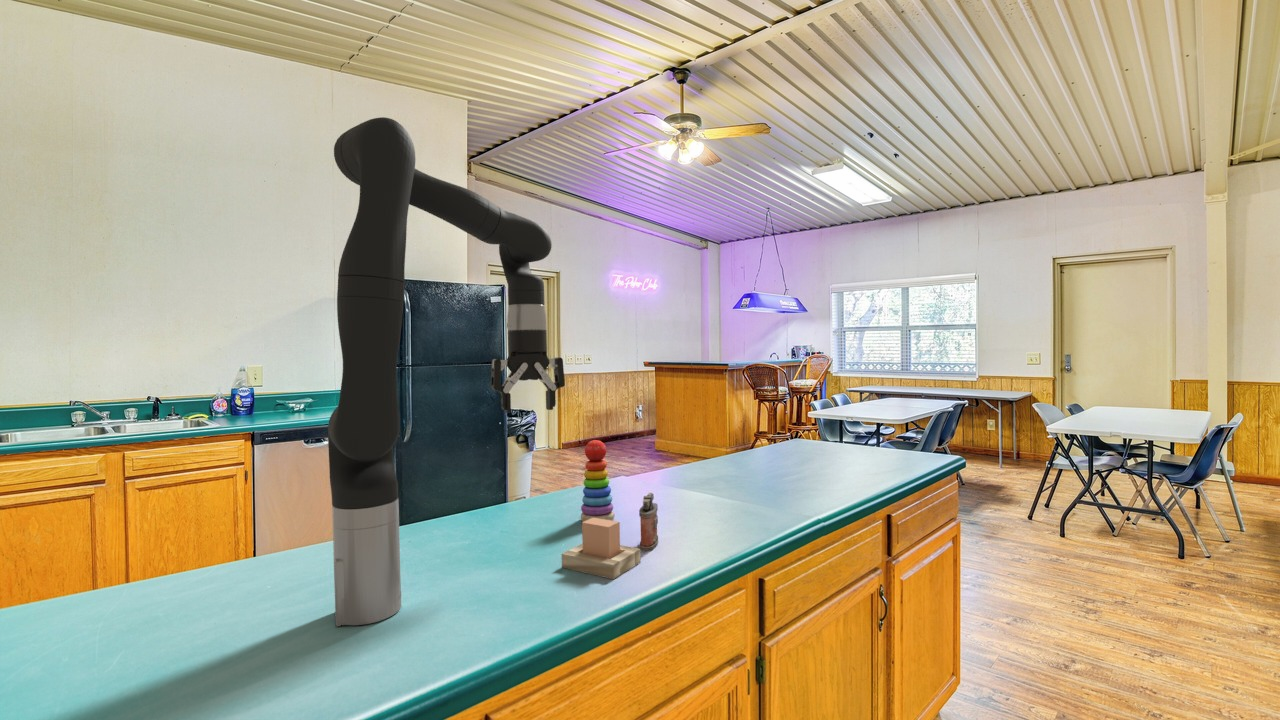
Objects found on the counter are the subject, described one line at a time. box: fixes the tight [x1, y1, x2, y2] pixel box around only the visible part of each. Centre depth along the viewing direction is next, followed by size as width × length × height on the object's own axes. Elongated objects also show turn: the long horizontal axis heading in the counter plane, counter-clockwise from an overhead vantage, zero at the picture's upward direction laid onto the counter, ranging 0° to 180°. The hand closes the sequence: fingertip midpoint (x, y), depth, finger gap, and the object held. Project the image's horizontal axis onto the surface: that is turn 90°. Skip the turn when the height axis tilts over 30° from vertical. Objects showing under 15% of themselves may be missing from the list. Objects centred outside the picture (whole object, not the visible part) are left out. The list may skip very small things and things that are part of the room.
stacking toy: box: [580, 439, 615, 522], centre depth 135 cm, size 8×8×19 cm
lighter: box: [638, 492, 659, 552], centre depth 117 cm, size 8×3×10 cm, turn 168°
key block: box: [581, 518, 621, 559], centre depth 107 cm, size 4×6×8 cm, turn 59°
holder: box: [561, 542, 642, 580], centre depth 107 cm, size 9×12×2 cm
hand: (529, 411), depth 113 cm, fingers open, 8 cm apart
